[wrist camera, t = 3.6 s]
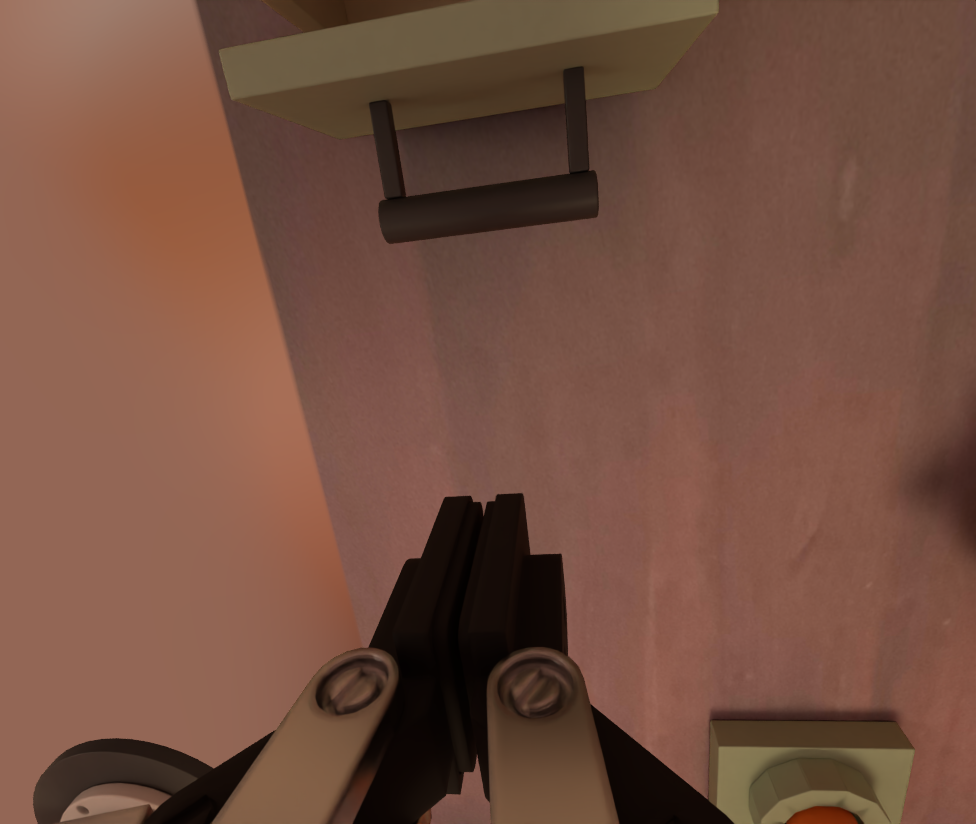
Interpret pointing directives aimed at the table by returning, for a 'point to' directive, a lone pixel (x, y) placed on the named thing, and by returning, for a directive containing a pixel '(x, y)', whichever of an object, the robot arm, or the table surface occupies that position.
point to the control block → (808, 769)
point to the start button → (823, 816)
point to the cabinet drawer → (462, 86)
